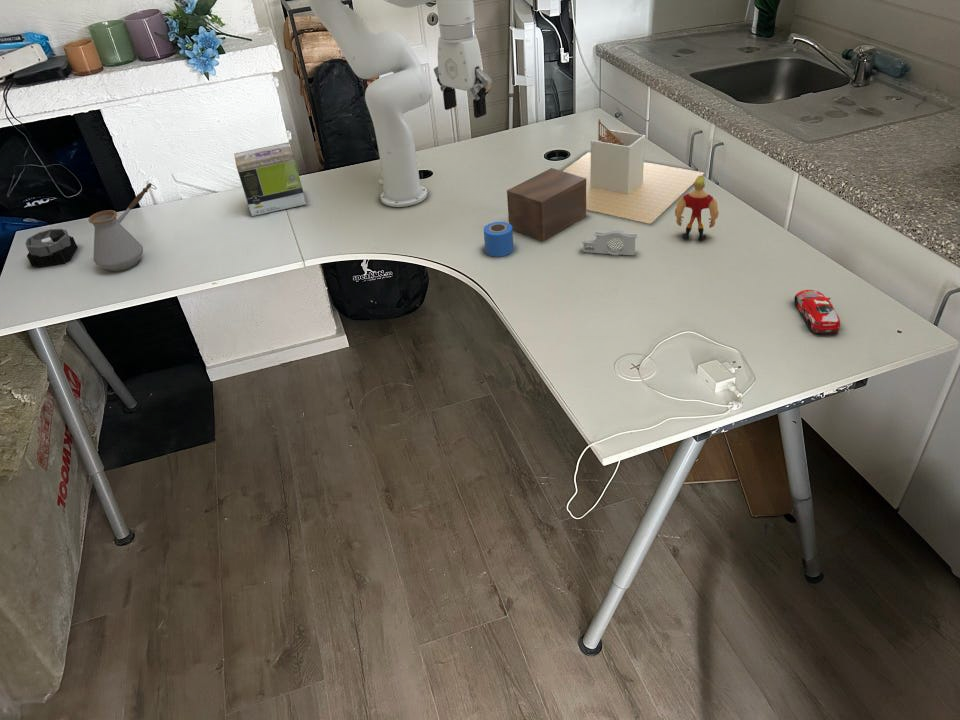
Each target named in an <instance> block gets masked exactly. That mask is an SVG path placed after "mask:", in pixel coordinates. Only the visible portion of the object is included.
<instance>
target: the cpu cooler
mask: <svg viewBox="0 0 960 720" xmlns="http://www.w3.org/2000/svg"><path fill="white" fill-rule="evenodd" d="M25 246H26V249H27V252H28V253H27V254H26V258H27V259H28V262H29V263H30V266H31V267H34V268H35V269H36V268H41V267H47V266H56V265H60V264H66V263H67V262H70V261H71V260H72V258H73V257H74V254H75V253H76V251H77V250H78V244H77V243H76V241H75V238H74V237H73V236H71V235H69V232H68V230H67V229H64V228H50V229H47V230H43V231H38V232H37V233H35V234H33V235H31V236H30V237H28V238H26V240H25Z"/></svg>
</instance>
